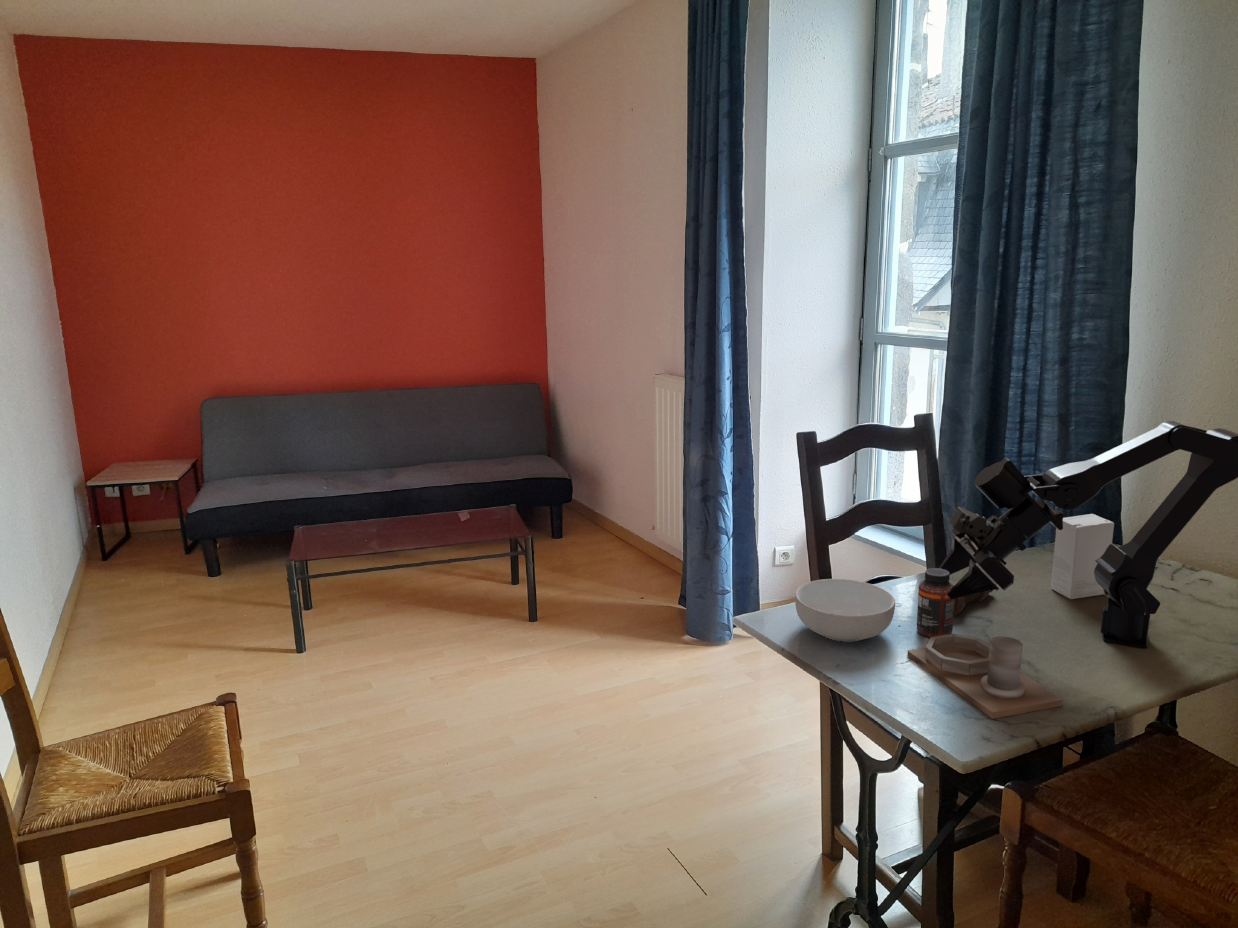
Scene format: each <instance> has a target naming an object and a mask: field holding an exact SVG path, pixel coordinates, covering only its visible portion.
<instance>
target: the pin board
mask: <svg viewBox="0 0 1238 928" xmlns="http://www.w3.org/2000/svg"><path fill="white" fill-rule="evenodd" d="M1023 647H1024V645H1023V643H1022V642H1021V641H1020V640H1019V639H1016V638H1013V637H1009V636H1001V635H1000V636H999V635H998V636H994V637H992V638H990V641H989V643H987V642H986V641H984V640H983V639H981V638H977V637H974V636H973V637H972V636H968V635H962V634H955V633H952V634H948V635H941V636H935V637H931V638H929V640H928V642H927V644H926V646H925V647H921V648H914V649H910V650H907V655H906V656H907V657H908V658H910V660H912V662H913V661H914V662H915V663H916V664H918V665H919V666H920V667H921V668H923V669H924V670H925V671H927V672H928V673H929V674H931V675H933V677H935V678H937V679H938V681H941V682H942V683H943V684H944V685H946V686H947V687H949V688H950V689H951V690H953V691H954V692H955V693H957V694H958V695H959V696H961V697H962V698H963V699H965V700H966V701H967V702H969V703H970V704H972V705H973V706H974V707H975V708H977V709H978V710H980V711H981V712H982V713H984V714H985V715H986V716H987V717H989V718H991V720H992V719H993V720H994V719H998V718H1004V717H1009V716H1015V715H1019V714H1021V715H1022V714H1025V713H1031V712H1035V711H1042V710H1046V709H1051V708H1052V709H1053V708H1057V707H1063V703H1064V699H1063V698H1061V697H1060V696H1059V695H1057V694H1055V693H1054V692H1052V691H1050V689H1047V688H1046V687H1044V686H1043V685H1042V684H1040V683H1038V682H1036V681H1035V680H1033V679H1031V678H1030V677H1029V676H1027V675H1025V674H1023V673H1022V671H1021V668H1022V667H1021V666H1022V658H1023V657H1022V655H1023Z"/></svg>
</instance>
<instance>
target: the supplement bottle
mask: <svg viewBox="0 0 1238 928" xmlns="http://www.w3.org/2000/svg"><path fill="white" fill-rule="evenodd" d="M950 576H951V575H950V573H949V572H948V571H947V570H944V569H940V568H939V567H938V568H937V567H933V568H932V567H931V568H927V569H926V570H925V571H924V580H922V581H920V582H919V585H918V592H917V613H916V614H917V615H916V631H917V632H918V633H919V634H920V635H922V636H923V637H926V638H929V639H930V638H931V637H935V636H941V635H948V634H953V627H954V616H953V613H954V599H951V598H950V597H949V596H948V595H947V594H948V592H949V591H950V590H951V589H952V588H953V587H954V586H955V585H954V584H953V583H952V582H950Z"/></svg>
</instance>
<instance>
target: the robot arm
mask: <svg viewBox="0 0 1238 928" xmlns="http://www.w3.org/2000/svg"><path fill="white" fill-rule="evenodd" d="M1179 450H1181V451H1184V452H1189V453H1191V454H1190V457H1189V461H1188V466H1187V470H1186V472H1185V473H1184V476H1183V477H1181V479H1180V480H1179V481H1178V483H1176V485H1175V486H1174V487H1173V488H1172V490H1171V491H1170V493H1168V495H1167V496H1166V497H1165V498H1164V499H1163V501H1162V502H1161V503H1160V504H1159V506H1158V507H1157V508H1156V509H1155V510H1154V511H1153V513H1152V514H1151V515H1150V517H1149V518H1148V519H1147V521H1146V522H1145V523H1144V524H1143V525H1142V526H1141V528H1140V529H1139V530H1138V531H1137V532H1136V533H1135V535H1134V536H1133V537H1132V539H1131V540H1129V541H1128V542H1127V543H1125V544H1123V545H1121V546H1119V547H1118V546H1117V545H1115V543H1113V542H1112V543H1111V544H1110V545H1109V546H1108V547H1107V549H1106V551H1105V552H1104V554H1103V555H1102V556H1101V557H1100V558H1098V559H1097V560H1095V561H1096V562H1097V563H1098V564H1097V565H1096V567H1095V569H1094V575H1095V580H1096V581H1097V583H1098V584H1099V585H1100V586H1101V587H1102V588H1103V590H1104V593H1105V594H1104V595H1105V596H1107V598H1108V599H1107V605H1103V607H1102V615H1101V624H1100V634H1103V636H1102V640H1103V641H1104V642H1108V643H1114V644H1119V645H1120V644H1121V645H1126V646H1127V645H1128V646H1133V647H1139V648H1142V649H1143V648H1144V649H1147V648H1148V647H1149V640H1148V639H1149V638H1148V635H1149V629H1150V619H1151V615H1156V613H1157V611H1158V610H1159V608H1160V606H1161V601H1160V600H1158V599H1157V597H1155V596H1154V594H1152V593H1151V592H1150V591H1149V590H1148V587H1149V586H1150V585H1151V582H1152V581H1153V579H1154V575H1155V571H1156V567H1157V563H1158V561H1159V558H1160V557H1161V556H1162V555H1163V554H1164V552H1165V551H1166V550H1167V548H1169V546H1170V545H1171V544H1172V543H1173V542H1174V541H1175V539H1176V537H1178V535H1180V533H1182V531H1183V530H1184V528H1185V527H1187V525H1188V523H1190V521H1191V520H1192V519H1193V518H1194V516H1195V515H1196V514H1197V512H1199V510H1200V509H1201V508H1202V507H1203V505H1205V503H1206V502H1207V501H1208V500H1209V498H1210V497H1211V496H1212V495H1213V493H1215V491H1216V490H1218V489H1219V488H1222V487H1224V486H1225V485H1227V484H1229V483H1231V482H1233V481H1235V480H1237V479H1238V433H1237V432H1234V431H1232V430H1229V429H1226V428H1221V427H1220V428H1213V429H1209V430H1205V429H1202V428H1197V427H1194V426H1190V425H1189V426H1188V425H1184V424H1182V423H1179V422H1177V421H1174V420H1166V421H1164V422H1162V423H1160V424H1158V426H1157V427H1155V428H1152V429H1151V430H1149V431H1147V432H1144V433H1142V434H1140V435H1138V436H1136V437H1134V438H1132V439H1130V440H1129V441H1126V442H1124V443H1122V444H1120V445H1118V446H1116V447H1113V448H1111V449H1110V450H1107V451H1105V452H1103V453H1101V454H1099V455H1097V456H1094V457H1093V458H1092V457H1091V458H1089V459H1086V460H1082V461H1076V462H1069V463H1065V464H1062V465H1059V466H1056V467H1052V468H1050V469H1048V470H1046V471H1045V472H1043V473H1040V474H1039V473H1038V474H1031V475H1023V474H1022V472H1021V471H1020V470H1019V469H1018V468H1017V466H1016V465H1015V464H1014V462H1013V461H1012V460H1011V459H1009V458H1008V457H1005V458H1003V459H1002V460H1001V461H998V462H995V463H993V464H990V465H989V466H986V467H985V468H983V469H982V470H980V472H979V473H978V474H977V475H976V477H975V478H974V480H973V481H974V482H973V485H974V486H975V487H976V488H977V489H978V490H979V491H980V492H981V493H982V494H983V495H984V496H985V497H986V498H987V499H988V501H990V502H991V503H992V504H993V506H995V507H996V508H997V509H1007V510H1006V511H1005V512H1004V513H1003V514H1001V515H1000V516H999V517H998V516H997V515H996V514H995V515H991V516H990V517H988V518H986V517H985V516H981V515H980V514H978V513H974V512H972V511H970V510H968V509H966V508H963V507H961V506H957V508H956V509H955V511H954V513H953V514H952V515H951V518H950V519H949V521H948V523H949V524H951V525H952V528H953V529H952V530H951V532H952V533H953V534H954V535H953V534H951V535H950V538H951V549H950V551H949V552H948V554H947V555H946V557H945V558H944V560H943V561H942V563H941V564H940V566H939V567H938V568H940V569H944V570H947V571H948V572H949V573H950V576H951V575H953V574H955V573H957V572H960V571H961V570H964V569H967V568H968V570H967V572H965V574H964V575H963V576H962V577H961V578H960V580H958V581H957V582H956V583H955V585H953V586H954V587H953V588H952V589H951V590H950V591H949V592H948V594H947V595H948V596H949V597H950V598H951V599H955V598H959V597H963V596H967V595H971V594H975V593H979V592H985V591H990V590H993V591H994V590H995V591H999V590H1000V588H1001V590H1003V591H1006V590H1007V589H1008V588H1009V587H1011V586H1013V584H1014V580H1015V575H1014V574H1013V573H1012V572H1011V570H1009V568H1008V567H1007V566H1006V565H1007V564H1008V563H1007V561H1006V560H1005V559H1007V558H1008V557H1009V556H1010V555H1011V554H1013V553H1014V552H1015V551H1017V550H1018V549H1019V550H1020V551H1021V552H1023V551H1024V550H1025V549H1027V548H1028V547H1027V546H1026V545H1025V544H1026V542H1028V541H1029V540H1030V539H1032V537H1035V535H1036V534H1037V533H1039V532H1040V531H1041V530H1043V529H1044V528H1045V527H1046V526H1047V525H1049V524H1051V525H1052V526H1053V527H1054V528H1057V529H1058V530H1062V529H1063V518H1065V517H1064V516H1065V514H1064V513H1063V512H1062V511H1061V510H1060V509H1063V510H1066V511H1072V510H1075V509H1078V508H1079V507H1081V506H1082V505H1084V504H1085V503H1087V502H1089V501H1090V500H1092V499H1093V498H1094V497H1095V496H1097V495H1098V493H1100V491H1101V490H1102V489H1103V487H1105V486H1107V485H1108V484H1109V483H1111V482H1112V481H1115V480H1117V479H1120V478H1122V477H1123V476H1125V475H1127V474H1130V473H1132V472H1134V471H1136V470H1138V469H1140V468H1143V467H1145V466H1146V465H1149V464H1151V463H1153V462H1155V461H1157V460H1159V459H1161V458H1165V457H1166V456H1167V455H1170V454H1172V453H1174V452H1177V451H1179ZM1030 492H1031V493H1033V494H1034V495H1035V496H1036V497H1038V499H1034V498H1033V497H1032V496H1031V495H1030V494H1029V493H1030ZM1046 501H1047V502H1050V503H1052V504H1053V505H1054V506H1056V507H1057V508H1059V510H1058V509H1055V510H1054V509H1052V507H1051V506H1050V505H1049V504H1048V503H1047V502H1046ZM974 555H975V556H974ZM998 586H999V587H998Z"/></svg>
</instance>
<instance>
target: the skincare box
mask: <svg viewBox="0 0 1238 928" xmlns="http://www.w3.org/2000/svg"><path fill="white" fill-rule="evenodd" d="M1055 528H1056V527H1055ZM1114 528H1115V523H1114V522H1113V521H1111V520H1109V519H1106V518H1104V517H1101V516H1099V515H1096V514H1094V513H1089V514H1081V515H1075V516H1067V517H1063V529H1062V530H1058V529H1057V528H1056V529H1055V539H1054V549H1053V560H1052V561H1053V562H1052V571H1051V580H1050V582H1051V583H1050V588H1051V590H1053V591H1055V592H1057V593H1059V594H1060V595H1062V596H1064V597H1065V598H1068V599H1069V600H1075V599H1082V598H1088V597H1094V596H1102V595H1106V594H1105V593H1104V590H1103V588H1102V587H1101V586H1100V585H1099V584H1098V583H1097V581H1096V580H1095V575H1094V569H1095V567H1096V565H1097V564H1098V563H1097V562H1096V561H1095V560H1097V559H1098V558H1100V557H1101V556H1102V555H1103V554H1104V552H1105V551H1106V549H1107V547H1108V546H1109V545H1110V544H1111V543H1113V536H1114Z"/></svg>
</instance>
